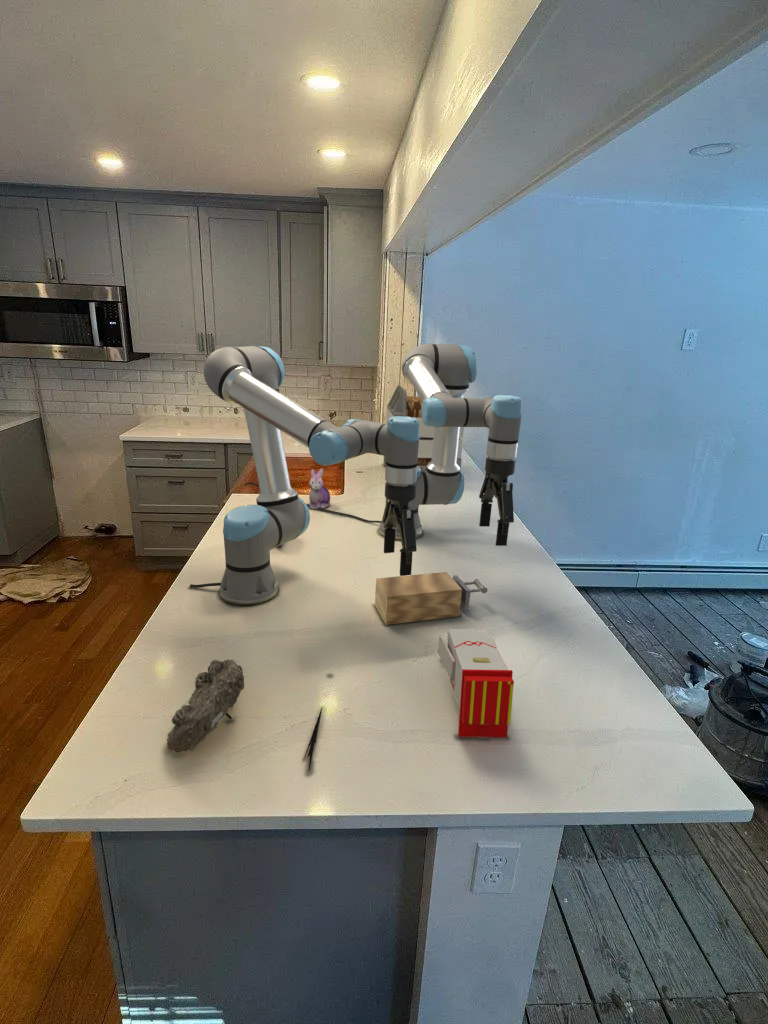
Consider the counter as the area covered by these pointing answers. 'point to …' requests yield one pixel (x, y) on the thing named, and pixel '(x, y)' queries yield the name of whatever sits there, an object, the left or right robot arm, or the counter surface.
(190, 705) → the fossil
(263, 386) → the left robot arm
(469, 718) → the toy
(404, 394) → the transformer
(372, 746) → the counter surface
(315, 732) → the feather
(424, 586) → the wooden block
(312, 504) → the figurine
